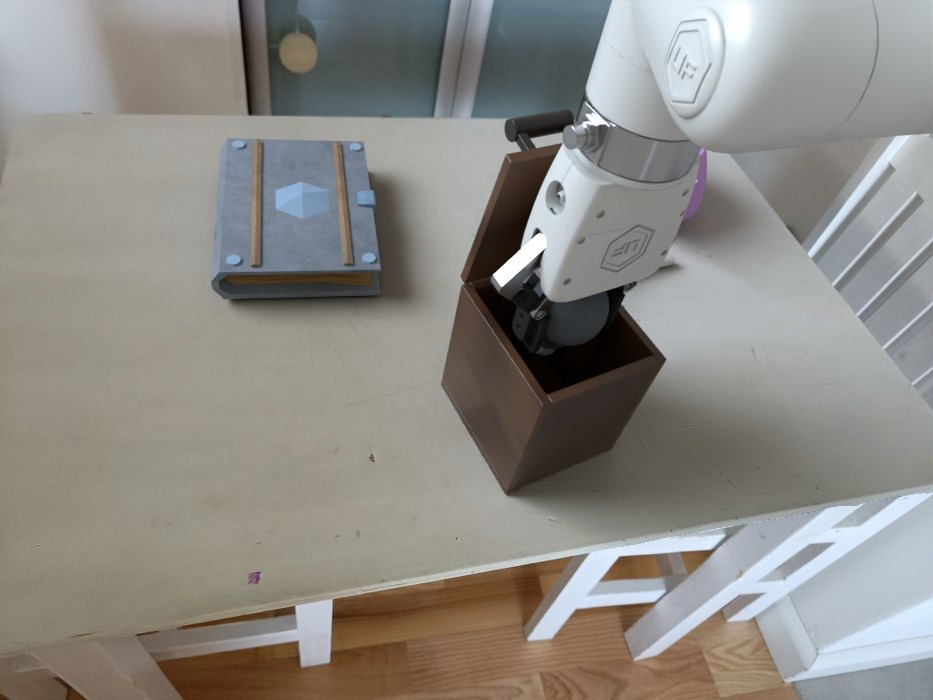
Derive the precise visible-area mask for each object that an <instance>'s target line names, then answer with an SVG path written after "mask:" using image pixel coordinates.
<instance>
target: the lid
mask: <svg viewBox="0 0 933 700" xmlns="http://www.w3.org/2000/svg"><path fill="white" fill-rule="evenodd" d="M574 117H575V116H574V113H573V112H572V110H571V109H570V108H561V109H556V110H550V111H544V112H539V113H533V114H528V115H522V116H517V117H511V118H508V119H506V120H505V123H504V129H503V131H504V135H505V137H506V139H507V141H508V142H510V143H516V145H517V147H518V148H519V149H520V151H515V152H510V153H506V154H505V155H504V159H503V161H502V164H501V167H500V169H499V172H498V174H497V177H496V180H495V182H494V185H493V188H492V191H491V194H490V196H489V199H488V202H487V204H486V207H485V209H484V212H483V215H482V217H481V220H480V223H479V226H478V228H477V230H476V234H475V236H474V240H473V242H472V244H471V247H470V250H469V252H468V254H467V258H466V260H465V263H464V265H463V269H462V272H461V274H460V279H461V280H462V282H463V284H467V283H470V282H474V281H477V280H481V279H484V278H488V277H491V276H493V274H495V273H496V272H497V271H498V270H499V269H500V268H501V267H502V266H503V265H504V264H506V263H507V262H508V261H509V260H510V259H511V258H512V257H513V256H514V255H515V254H516V253H518V252H519V251H520V249H521V245H522V240H523V236H524V232H525V229H526V226H527V223H528V220H529V217H530V214H531V211H532V209H533V206H534V203H535V201H536V198H537V196H538V193H539V191H540V188H541V186H542V184H543V182H544V180H545V177H546V175H547V173H548V171H549V169H550V167H551V165H552V163H553V161H554V159H555V157H556V155H557V153H558V151H559V150H560V148H561V146H562V144H563V142H560V143H555V144H549V145H544V146H540V147H536V145H535V144H534V142H533V140H532V139H536V138H542V137H547V136H552V135H557V134H563V131H564V128H565V127H566V126H569V125H574V123H575V118H574Z"/></svg>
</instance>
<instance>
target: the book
mask: <svg viewBox="0 0 933 700" xmlns="http://www.w3.org/2000/svg"><path fill="white" fill-rule="evenodd" d="M219 151H220V152H219V165H218V179H217V191H216V192H217V193H216V205H215V207H216V208H215V221H214V232H213V233H214V235H213V249H212V260H211V261H212V264H211V274H210V275H211V276H210V278H211V279H210V284H211V289H212V290H214V292H215V293H216V294H218V295H219V297H221V299H223V300H239V299H246V300H247V299H278V298H279V299H281V298H285V299H286V298H317V297H318V298H319V297H322V298H323V297H357V296H358V297H359V296H360V297H361V296H380V284H379V278H378V273H382V267H381V261H380V260H381V259H380V253H379V245H378V237H377V230H376V224H377V223H376V222H377V205H378V204H377V200H376V199H377V198H376V192H375V191H374V190H373V189H371V185H370V178H369V170H368V164H367V163H368V162H367V155H366V148H365V141H364V140H363V141H361V140H359V141H358V140H357V141H356V140H323V139H322V140H321V139H320V140H319V139H318V140H315V139H314V140H313V139H279V138H278V139H274V138H273V139H272V138H233V137H231V138H230V137H228V138H226V139H225V141H224V142H223V144H222V145H221V147H220V150H219Z"/></svg>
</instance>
